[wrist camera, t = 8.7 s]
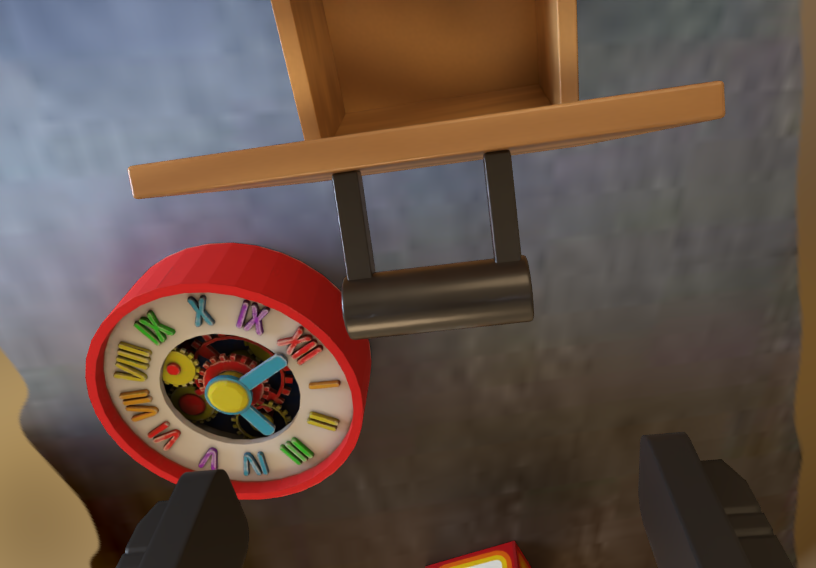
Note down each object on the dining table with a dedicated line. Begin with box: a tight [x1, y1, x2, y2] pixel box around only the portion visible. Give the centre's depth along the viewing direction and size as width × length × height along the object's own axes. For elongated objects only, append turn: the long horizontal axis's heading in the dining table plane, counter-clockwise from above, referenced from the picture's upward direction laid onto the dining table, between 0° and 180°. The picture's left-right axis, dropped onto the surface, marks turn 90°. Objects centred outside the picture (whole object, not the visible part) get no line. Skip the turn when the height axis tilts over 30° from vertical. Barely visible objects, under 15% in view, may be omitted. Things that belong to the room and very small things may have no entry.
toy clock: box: [85, 243, 371, 499], centre depth 48 cm, size 20×6×20 cm
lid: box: [128, 81, 725, 340], centre depth 23 cm, size 18×14×5 cm
